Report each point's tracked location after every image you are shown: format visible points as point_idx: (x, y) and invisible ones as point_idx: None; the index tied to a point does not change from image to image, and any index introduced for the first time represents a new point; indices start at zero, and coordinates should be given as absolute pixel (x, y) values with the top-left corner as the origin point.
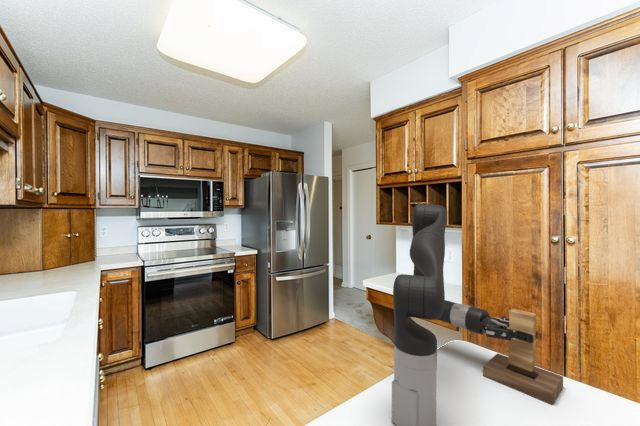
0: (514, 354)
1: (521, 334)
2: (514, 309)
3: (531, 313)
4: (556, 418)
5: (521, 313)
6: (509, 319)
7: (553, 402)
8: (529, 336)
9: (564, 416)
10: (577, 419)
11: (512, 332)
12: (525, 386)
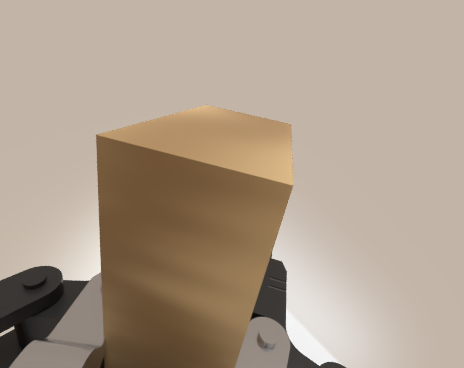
0: None
1: (279, 297)
2: (156, 137)
3: (210, 111)
4: (326, 357)
5: (279, 138)
6: (253, 307)
7: None
8: (275, 261)
9: (299, 337)
10: (288, 314)
11: (295, 361)
12: None
